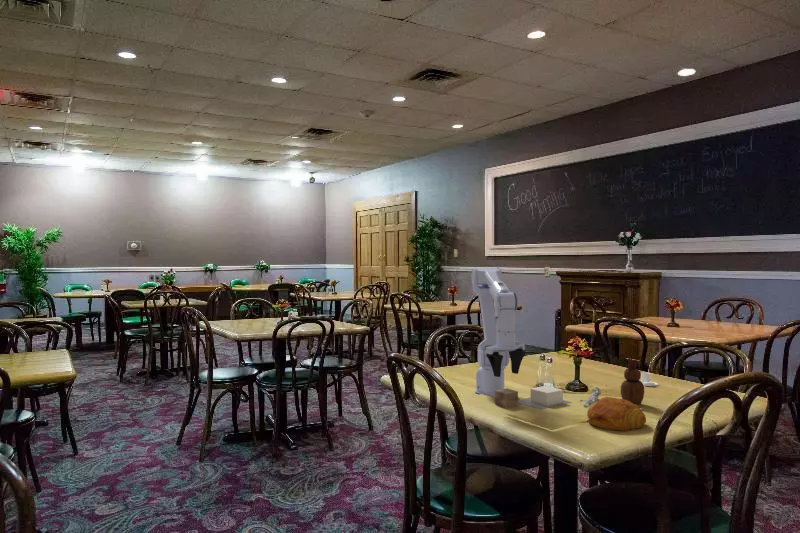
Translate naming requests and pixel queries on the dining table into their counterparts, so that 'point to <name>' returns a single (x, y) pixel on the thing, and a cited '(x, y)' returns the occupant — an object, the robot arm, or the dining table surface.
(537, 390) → the cream block
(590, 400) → the soldier figure
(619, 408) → the croissant
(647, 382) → the teacup and saucer
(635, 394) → the wooden figurine
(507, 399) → the walnut cube
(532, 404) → the slate board
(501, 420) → the dining table surface
